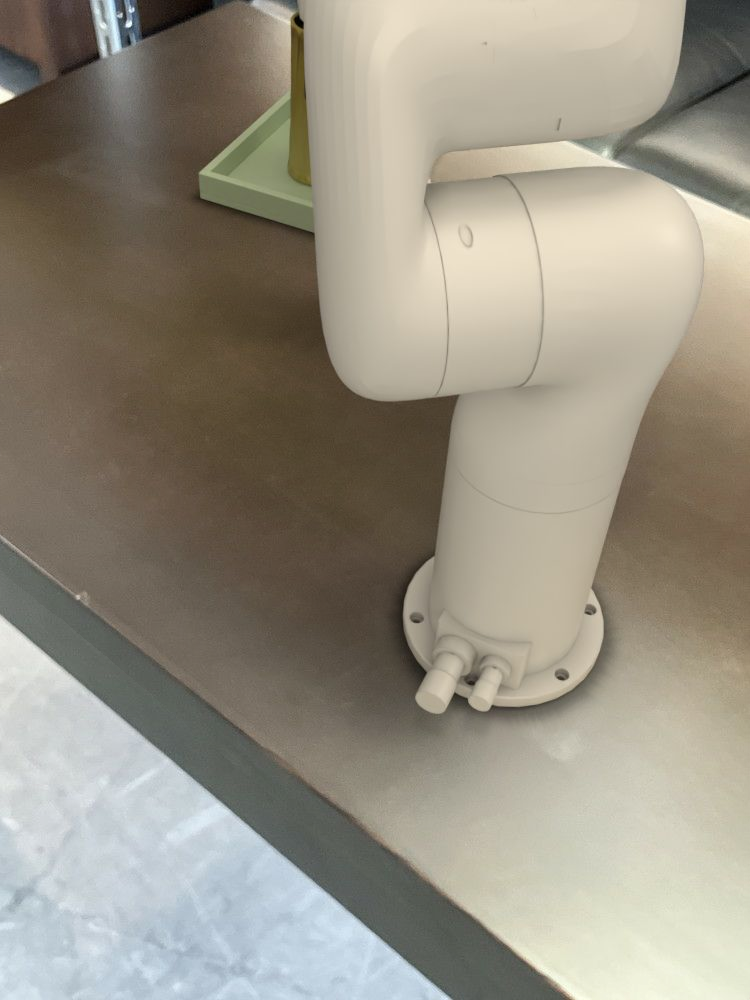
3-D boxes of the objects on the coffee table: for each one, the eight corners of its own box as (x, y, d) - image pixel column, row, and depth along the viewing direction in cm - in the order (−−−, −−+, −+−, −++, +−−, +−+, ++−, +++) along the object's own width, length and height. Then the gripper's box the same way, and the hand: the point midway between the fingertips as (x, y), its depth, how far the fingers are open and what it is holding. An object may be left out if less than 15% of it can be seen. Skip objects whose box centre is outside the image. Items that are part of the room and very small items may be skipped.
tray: (354, 245, 101) (355, 219, 99) (200, 198, 105) (198, 173, 103) (432, 153, 112) (434, 129, 110) (289, 114, 116) (289, 89, 114)
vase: (364, 166, 109) (370, 16, 98) (328, 194, 105) (331, 42, 95) (311, 146, 111) (311, -2, 100) (274, 173, 107) (270, 22, 97)
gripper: (381, -100, 83) (371, 131, 96) (362, -177, 94) (355, 38, 108) (277, -101, 82) (281, 132, 95) (270, -179, 94) (275, 38, 107)
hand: (321, 80), depth 101 cm, fingers closed on vase, 5 cm apart
